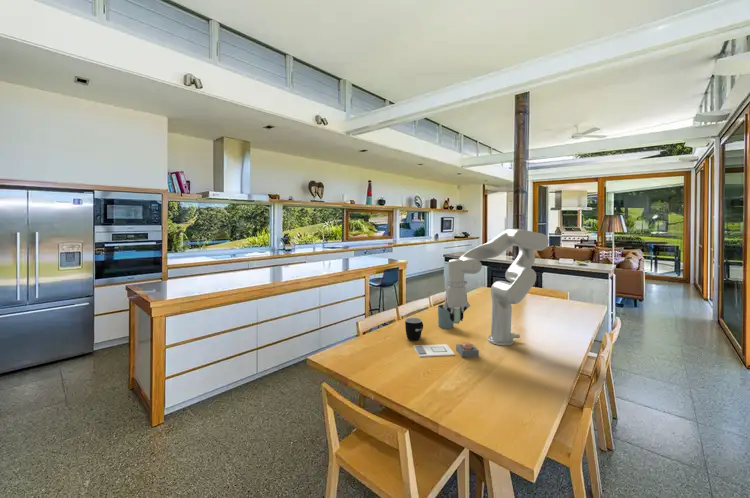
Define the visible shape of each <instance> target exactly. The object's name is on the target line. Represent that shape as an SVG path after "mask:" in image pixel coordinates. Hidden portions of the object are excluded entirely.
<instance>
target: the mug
mask: <svg viewBox="0 0 750 498" xmlns="http://www.w3.org/2000/svg"><path fill="white" fill-rule="evenodd" d="M404 321H405V322H404V323H405V324H404V325H405V328H404V329H405V333H406V334H405V335H406V339H407V340H408V341H411V342H412V341H413V342H417V341H419V340H420V339H421V336H422V332H423V329H424V323H423V320H422V319H421V318H419V317H407V318H406V319H405V320H404Z"/></svg>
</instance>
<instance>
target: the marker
mask: <svg viewBox="0 0 750 498" xmlns="http://www.w3.org/2000/svg"><path fill="white" fill-rule="evenodd" d="M453 314H454V324H456V325H457V324H460V322H461V320H460V307H455V308H454V309H453Z"/></svg>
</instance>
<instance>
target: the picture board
mask: <svg viewBox="0 0 750 498" xmlns="http://www.w3.org/2000/svg"><path fill="white" fill-rule="evenodd" d="M413 348H414V350H415V352H416V354H417V356H418V357H419V358H422V357H423V358H424V357H425V358H426V357H446V356H447V357H449V356H450V357H451V356H455V355H456V354H455V352H454V351H453V350H452V349H451V348H450V346H449V345H448V344H446V343H445V344H444V343H443V344H441V343H440V344H422V345H421V344H420V345H413Z"/></svg>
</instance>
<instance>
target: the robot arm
mask: <svg viewBox="0 0 750 498" xmlns="http://www.w3.org/2000/svg"><path fill="white" fill-rule="evenodd" d="M549 241H550V240H549V238H548V236H547V235H546V234H545V233H542V232H541V233H540V232H538V231H537V232H535V231H530V230H526V229H521V228H506V229H505V230H503V231H502V232H500V233H499V234H497V235H496V236H495V237H494V238H491V240H489V241H488V242H486V243H484V244H483V243H482V244H480V245H478V246H476V247H474V248H471V249H470V250H468V251H467V252H465V253H463V255H461V256H459V258H452V259H449V260H448V262H447V263H448V264H447V265H448V269H447V271H448V286H446V288H445V295H444V296H445V297H444V298H445V299H444V301H445V302H444V305H443V304H442V305H443V308H444V309H446V310H448V311H449V312H450V319H451V321H452V322H453V321H454V314H453V309H454V308H455V307H460V322H463V319H464V313H465V311H467V309H469V308H470V307H471V304H470V303H469V301H468V295H467V294H468V293H467V288H466V285H467V284H468V282H467V281H466V280H465V274H468V275H469V274H470V275H475V274H477V273H480V272H481V270H482V267H483V264H482V262H481V261H482V260H488V259H493V258H497V257H499V256H501V255H502V254H503V253H504V252H506V251H507V250H509V249H510V248H512V247H513V246H515V247H518V254H517V256H516V258H515V259H514V260H513V262H512V263H511V264H510V265H509V267H508V268H507V269H506V271H505V275H504V276H505V279H506V280H507V281H504V280H497V281H495V282H493V283H492V285H491V287H490V296H491V326H490V327H491V328H490V335H489V336H488V337H487V341H488V342H489V343H491V344H493V345H495V346H496V345H498V346H505V347H506V346H512V345H513V344H514V339H521V338H520V337H521V335H520V333H516V334H515V333H514V332H512V315H513V313H512V310H513V308H512V305H518V304H519V303H521V302H522V301H523V300H524V298H525V297H526V296H527V294H528V293H529V292H530V290H531V289H532V288H533V287H534V285H535V283H536V280H537V273H536V271H535V270H534V269H533V268H532V266H533V265H534V263H535V262H536V261H535V260H536V254H535V251H540V252H541V251H544V250H545V249H547V248H548V246H549ZM508 281H509V282H508ZM447 305H448V307H449V308H448V307H447Z"/></svg>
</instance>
